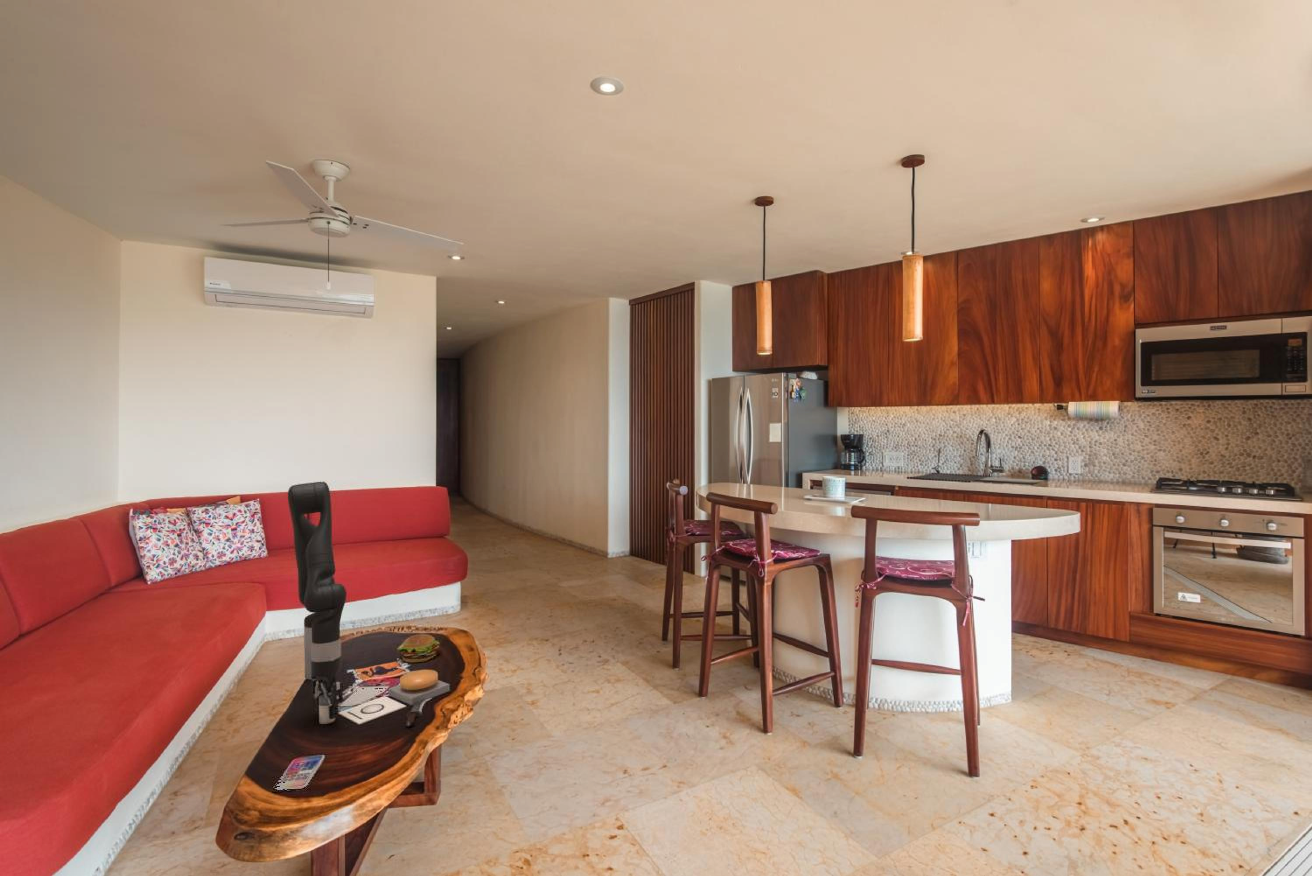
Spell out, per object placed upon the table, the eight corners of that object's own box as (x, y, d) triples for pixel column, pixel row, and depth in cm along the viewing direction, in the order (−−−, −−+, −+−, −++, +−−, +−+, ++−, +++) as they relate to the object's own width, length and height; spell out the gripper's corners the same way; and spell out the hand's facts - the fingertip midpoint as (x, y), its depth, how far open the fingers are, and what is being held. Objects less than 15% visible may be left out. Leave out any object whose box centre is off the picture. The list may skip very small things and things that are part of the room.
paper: (338, 713, 178) (338, 712, 178) (384, 697, 189) (384, 695, 189) (359, 724, 170) (359, 723, 170) (405, 706, 182) (405, 705, 182)
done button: (393, 684, 191) (392, 678, 191) (425, 673, 199) (425, 667, 199) (412, 692, 184) (412, 686, 184) (444, 681, 193) (444, 674, 193)
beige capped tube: (316, 721, 173) (316, 696, 173) (331, 716, 176) (330, 691, 176) (323, 725, 171) (322, 700, 171) (337, 719, 174) (337, 695, 174)
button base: (388, 695, 190) (388, 688, 190) (426, 681, 201) (426, 675, 201) (411, 705, 182) (411, 698, 182) (449, 690, 193) (449, 684, 193)
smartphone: (269, 791, 137) (293, 758, 152) (269, 796, 137) (293, 762, 152) (305, 786, 139) (326, 753, 153) (306, 790, 139) (326, 757, 153)
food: (416, 649, 233) (415, 628, 233) (446, 653, 228) (446, 631, 228) (388, 662, 220) (388, 639, 220) (420, 666, 215) (420, 643, 215)
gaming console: (363, 681, 201) (395, 680, 202) (363, 683, 201) (395, 682, 202) (332, 711, 179) (367, 709, 179) (332, 713, 179) (367, 712, 179)
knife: (435, 694, 194) (418, 695, 193) (435, 687, 194) (418, 689, 193) (421, 727, 168) (402, 729, 167) (421, 719, 168) (402, 721, 167)
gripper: (300, 654, 175) (301, 712, 175) (324, 665, 166) (325, 726, 166) (328, 647, 181) (328, 703, 181) (352, 657, 172) (352, 716, 172)
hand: (327, 714), depth 173 cm, fingers open, 7 cm apart
